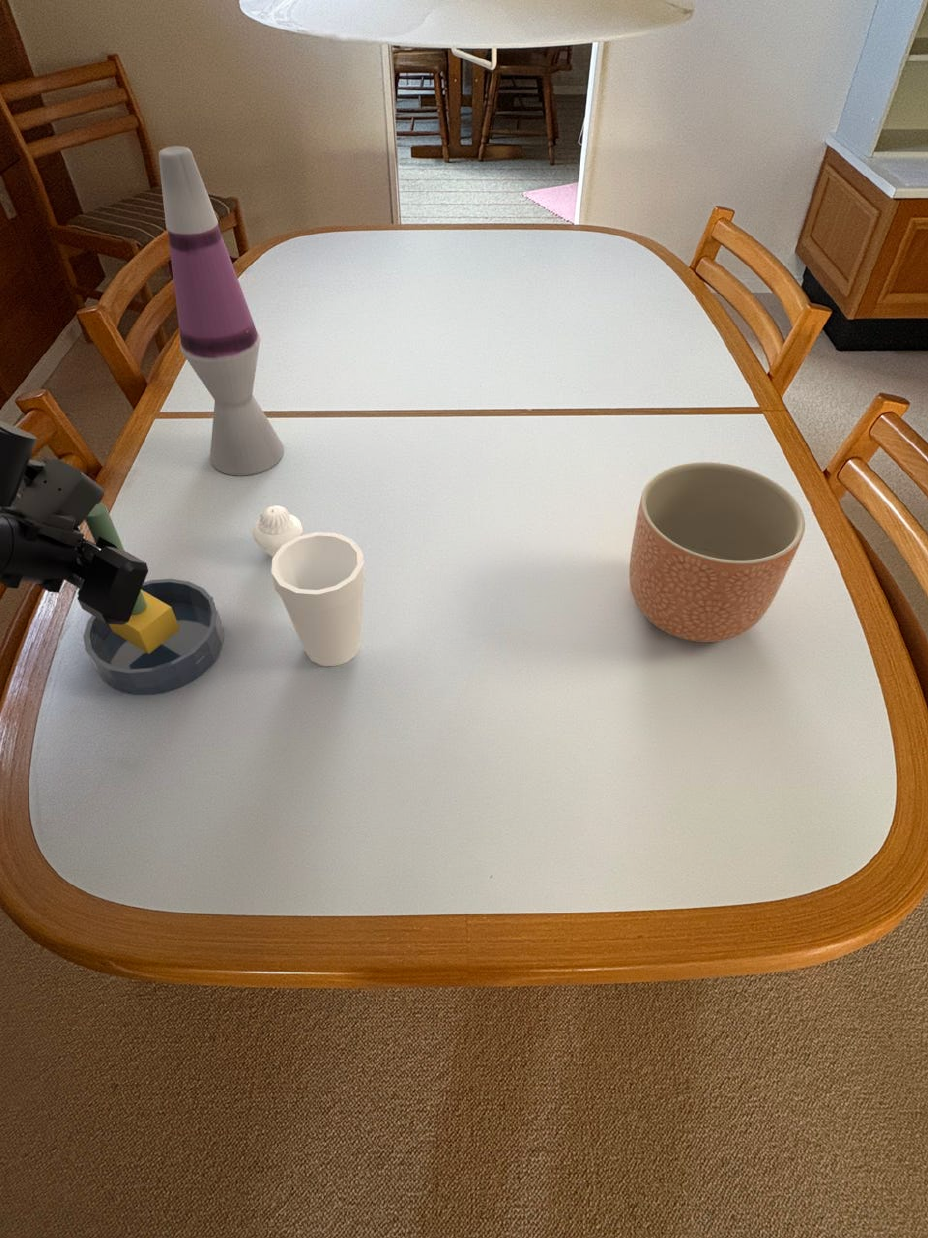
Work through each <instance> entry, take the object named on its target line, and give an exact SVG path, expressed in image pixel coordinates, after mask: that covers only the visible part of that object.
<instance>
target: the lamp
mask: <svg viewBox="0 0 928 1238" xmlns="http://www.w3.org/2000/svg"><path fill="white" fill-rule="evenodd" d="M193 154H194V153H193V152H192V150H191V149H190V148H189V147H187V146H181V145H173V146H167V147H165V148H162V149H161V150H159V152H158V164H159V173H160V182H161V191H162V201H163V202H162V203H163V211H164V220H165V228H166V231H167V237H168V244H169V253H170V261H171V270H172V277H173V279H172V280H173V289H174V298H175V304H176V305H175V306H176V313H177V323H178V330H179V331H178V332H179V339H180V344H179V350H180V352H181V353H182V355H183V356H184V358H185V359H186V361H187V362H188V363H189V365H190V366H191V368H192V369H193V371H194V372H195V374H196V376H197V377H198V378H199V380H200V381H201V382H202V384H203V385H204V387H205V388H206V390H207V391H208V393H209V394H210V396H211V397H212V398H213V401H214V405H213V406H214V407H213V417H212V426H211V428H212V429H211V439H210V449H209V450H210V451H209V461H210V464H211V465H212V466H213V468H214V469H216V470H217V471H218V472H221V473H224V474H225V475H231V476H238V477H239V476H240V477H241V476H251V475H256V474H261V473H263V472H266V471H268V470H269V469H272V468H273V467H274V466H276V465H277V464H278V463H279V462H280V461H281V459H282V458H283V455H284V452H285V447H284V444H283V442H282V440H281V439H280V437H279V436H278V434H277V432H276V431H275V429H274V427H273V426H272V424H271V423H270V421H269V419H268V417H267V416H266V414H265V413H264V411H263V409H262V408H261V406H260V405H259V403H258V400H257V399H256V397H255V396H254V395H253V393H254V386H255V379H256V371H257V366H258V359H259V358H258V357H259V351H260V343H261V336H260V333H259V332H258V330H257V327H256V325H255V322H254V320H253V316H252V314H251V311H250V308H249V305H248V303H247V300H246V298H245V295H244V292H243V289H242V287H241V284H240V281H239V278H238V276H237V273H236V271H235V267H234V265H233V262H232V259H231V257H230V254H229V251H228V248H227V246H226V243H225V241H224V238H223V235H222V232H221V230H220V227H219V220H218V218H217V216H216V213H215V210H214V208H213V204H212V202H211V200H210V197H209V194H208V191H207V189H206V186H205V183H204V181H203V178H202V175H201V173H200V170H199V168H198V165H197V162H196V160H195V157H194V155H193Z"/></svg>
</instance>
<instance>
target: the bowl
mask: <svg viewBox="0 0 928 1238" xmlns="http://www.w3.org/2000/svg"><path fill="white" fill-rule="evenodd" d="M141 590H143V591H145V592H146V593H148V594H150V595H151V596H153V597H155V598H157V599H158V600H160V601H162V602H163V603H165V604H167V605H169V606H170V607H171V608H172V610H173V613H174V615H175V618H176V621H177V623H178V626H179V628H180V630H179V631H177V632H176V633H175V634H174V635H172V636H171V637H170V638H169V639H167V640H166V641H165V642H163V643H162V644H161V645H160V646H158V647H157V648H156V649H155V650H153V651H152V652H151V653H150V654H148V653H146V652H145V651H143V650H142V649H140V648H138V647H137V646H135V645H134V644H132V643H130V642H129V641H127V640H126V639H124V638H122V637H121V636H119V635H118V634H116V633H114V632H113V631H112V629H111V627H110V625H109V624H106V623H104V622H103V621H101V620H100V619H98V618H96V617H95V616H93V615H92V614H91V616H90V617H89V619H87V623H86V626H85V629H84V633H83V635H82V636H83V642H84V649H85V652H86V654H87V656H88V658H89V659H90V661H91V663H92V665H93V667H94V669H95V670H96V671H97V673H98V674H99V676H100V678H101V679H102V680H103V682H104V683H106V684H107V685H108V686H110V688H111V687H112V688H113V689H114V690H117V691H120V692H122V693H126V694H131V695H138V696H150V695H158V694H163V693H167V692H172V691H174V690H177V689H179V688H182V687H185V686H186V685H189V684H190V683H192V682H193V681H195V680H197V679H198V678H199V677H201V676H202V675H203V674H204V673H205V672H207V671H208V670H209V669H210V668H211V667H212V665H214V663H215V662H216V661H217V659H218V657H219V655H220V654H221V651H222V650H223V645H224V641H225V631H224V626H223V623H222V620H221V618H220V615H219V611H218V608H217V606H216V602H215V599H214V598H213V597H212V595H210V593H209V592H208V591H206V589H205V588H204V587H202V586H199V585H198V584H195V583H193V582H191V581H188V580H184V579H183V580H182V579H181V580H180V579H177V578H176V579H175V578H161V579H150V580H146V581H144V583H143V586H142V588H141Z"/></svg>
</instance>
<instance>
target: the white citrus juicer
mask: <svg viewBox="0 0 928 1238" xmlns="http://www.w3.org/2000/svg"><path fill="white" fill-rule="evenodd" d="M259 517H260V518H259V519H258V520H257V521H256V522H255V524H254V526H253V528H252V535H253V539H254V541H255V542H256V544H258V547H260V549H262V550H263V551H264V552H265V553H266V554H267V555H269V556H270V557H271V558H273V557H274V556H275V554H276V553H277V552H278V550H279V549H280V548H281V546H282V545H284V544H286V543H287V542H289V541H291V540H293V539H294V538H296V537H298V536H302V535H303V532H304V531H303V530H304V529H303V525H302V523H301V520H299V518H297V517H296V516H295V515H292V514H291V513H290V512H289V511H288V509H287V508H285V507H284V506H281V505H270V506H269V507H266V508H265V509H263V510H262V511H261V513H260V515H259Z"/></svg>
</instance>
